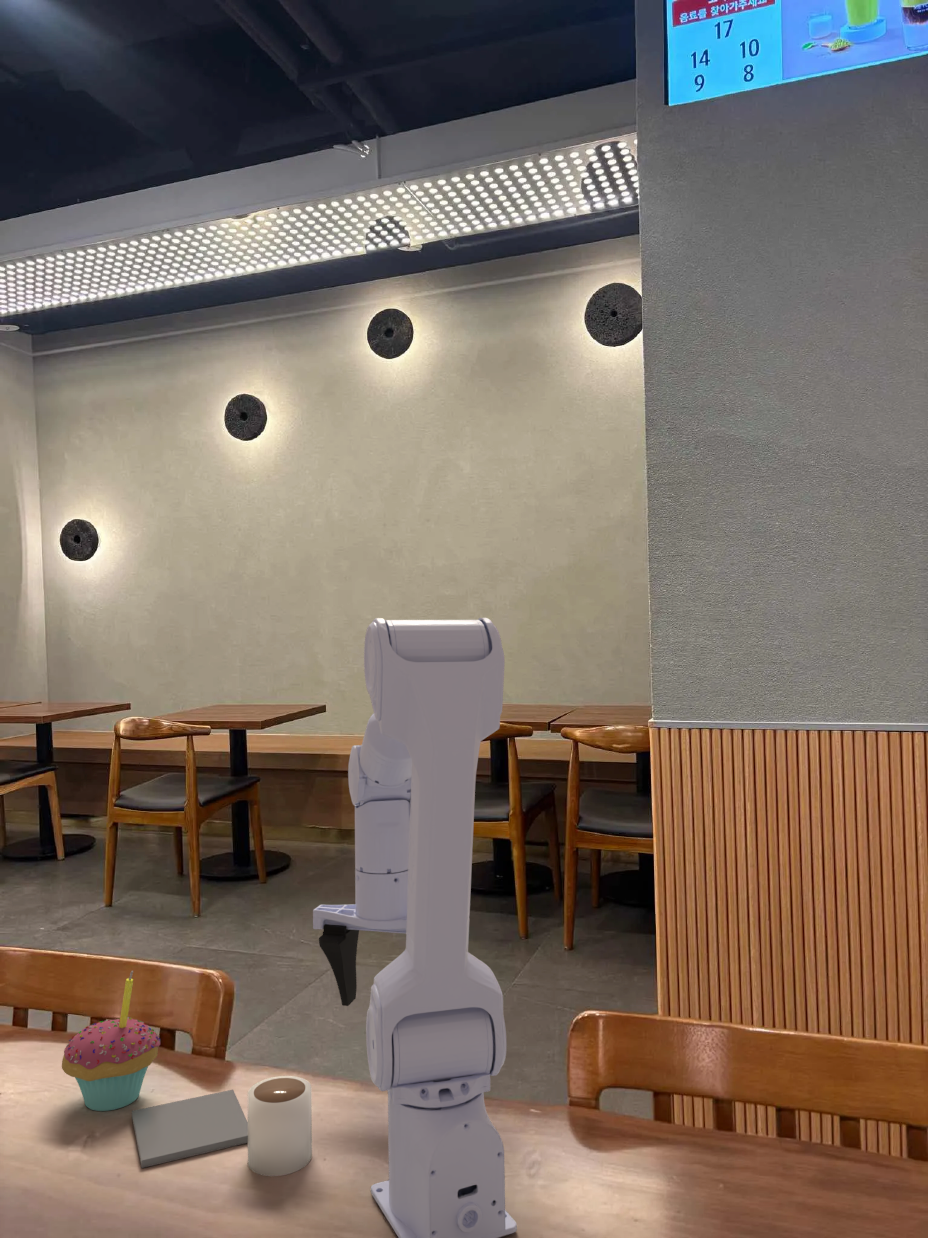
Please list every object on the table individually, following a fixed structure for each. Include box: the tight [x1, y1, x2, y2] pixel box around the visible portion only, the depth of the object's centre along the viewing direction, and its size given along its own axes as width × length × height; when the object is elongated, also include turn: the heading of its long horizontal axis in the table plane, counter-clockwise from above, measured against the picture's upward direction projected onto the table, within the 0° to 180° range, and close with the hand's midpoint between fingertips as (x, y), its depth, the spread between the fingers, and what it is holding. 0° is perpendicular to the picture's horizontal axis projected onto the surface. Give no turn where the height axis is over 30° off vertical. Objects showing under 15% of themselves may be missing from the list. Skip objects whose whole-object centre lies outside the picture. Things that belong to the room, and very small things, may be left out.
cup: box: [247, 1075, 313, 1177], centre depth 74 cm, size 5×5×6 cm
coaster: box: [131, 1089, 248, 1169], centre depth 79 cm, size 9×9×1 cm
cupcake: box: [61, 970, 161, 1112], centre depth 85 cm, size 9×8×12 cm
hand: (385, 1005), depth 89 cm, fingers open, 7 cm apart
